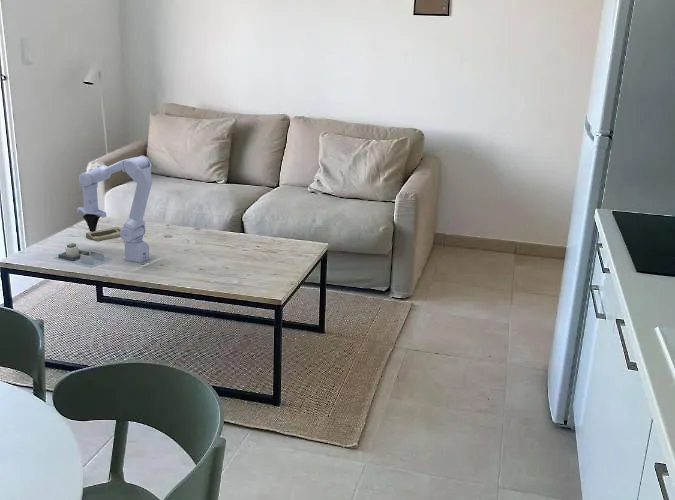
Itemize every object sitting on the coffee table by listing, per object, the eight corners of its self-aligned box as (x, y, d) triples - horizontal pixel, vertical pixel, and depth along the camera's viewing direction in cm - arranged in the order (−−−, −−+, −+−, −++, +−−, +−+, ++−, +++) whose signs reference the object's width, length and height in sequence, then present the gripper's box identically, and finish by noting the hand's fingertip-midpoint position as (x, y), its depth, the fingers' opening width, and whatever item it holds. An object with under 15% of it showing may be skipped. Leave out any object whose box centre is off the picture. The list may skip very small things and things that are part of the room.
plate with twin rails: (103, 259, 297) (103, 253, 296) (91, 264, 291) (91, 257, 290) (92, 257, 299) (92, 250, 298) (80, 262, 294) (80, 255, 293)
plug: (78, 256, 300) (77, 243, 298) (71, 259, 296) (70, 246, 295) (73, 255, 301) (72, 242, 299) (66, 257, 298) (65, 245, 296)
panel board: (113, 261, 299) (113, 259, 298) (91, 270, 288) (91, 267, 288) (75, 252, 307) (74, 250, 307) (53, 260, 297) (53, 258, 296)
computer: (93, 243, 321) (93, 236, 320) (85, 238, 327) (85, 231, 326) (126, 236, 331) (126, 229, 330) (118, 232, 337) (117, 225, 336)
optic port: (89, 255, 302) (88, 251, 301) (73, 261, 294) (72, 257, 293) (74, 251, 305) (74, 247, 304) (58, 257, 297) (58, 253, 297)
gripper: (70, 199, 299) (72, 230, 303) (96, 204, 293) (99, 236, 297) (82, 195, 305) (85, 226, 309) (109, 200, 299) (111, 232, 303)
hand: (92, 231), depth 304 cm, fingers closed
